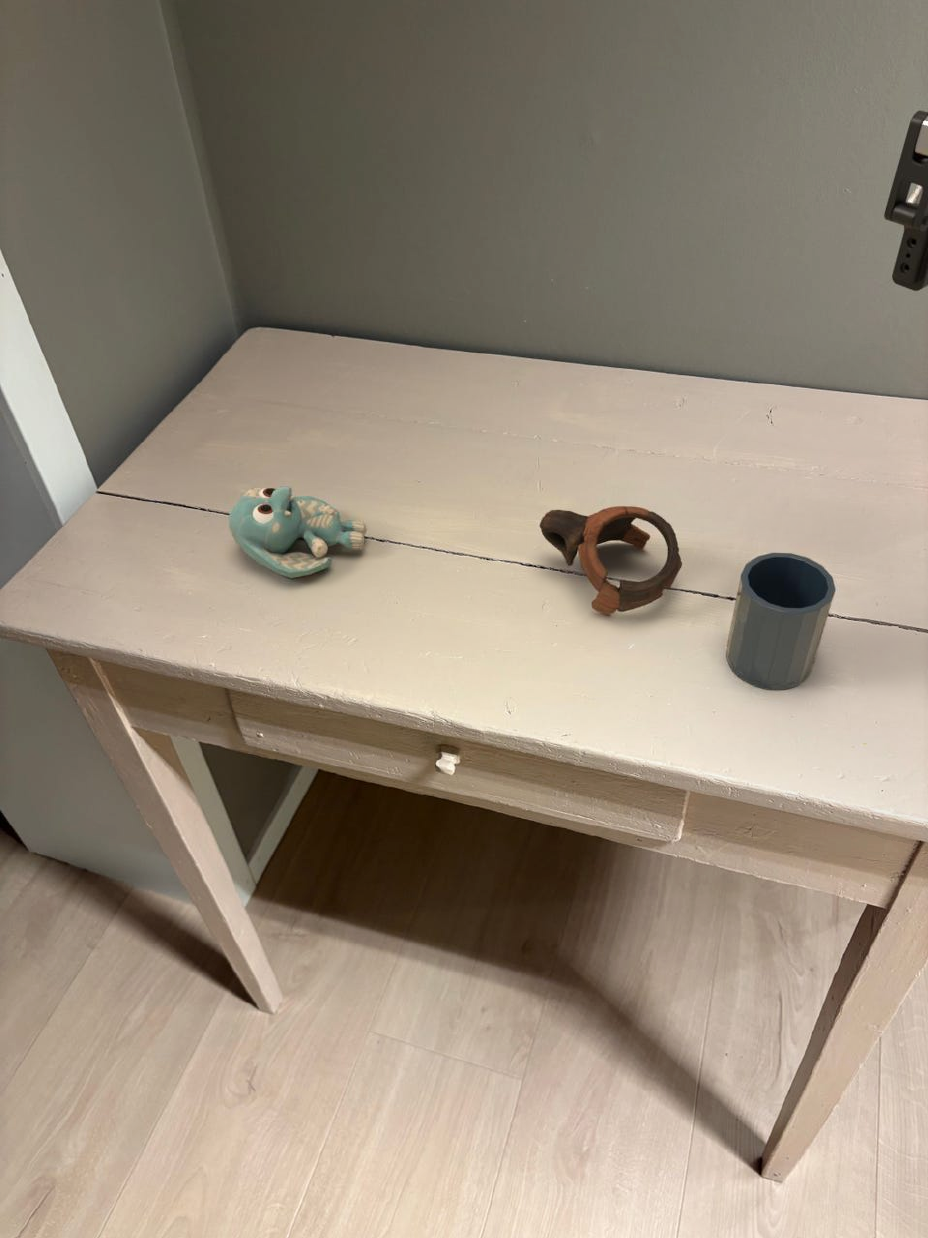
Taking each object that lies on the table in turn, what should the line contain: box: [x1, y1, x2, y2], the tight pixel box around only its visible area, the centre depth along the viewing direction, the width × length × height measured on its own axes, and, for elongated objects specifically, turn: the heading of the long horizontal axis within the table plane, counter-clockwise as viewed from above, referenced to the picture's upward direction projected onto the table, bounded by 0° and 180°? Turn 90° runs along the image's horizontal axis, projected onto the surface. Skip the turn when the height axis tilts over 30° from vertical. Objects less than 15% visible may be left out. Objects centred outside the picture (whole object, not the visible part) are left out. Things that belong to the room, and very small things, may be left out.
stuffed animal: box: [228, 485, 368, 579], centre depth 84 cm, size 11×7×12 cm
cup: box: [725, 552, 836, 691], centre depth 71 cm, size 6×6×8 cm
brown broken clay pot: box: [539, 505, 683, 616], centre depth 79 cm, size 12×10×8 cm
